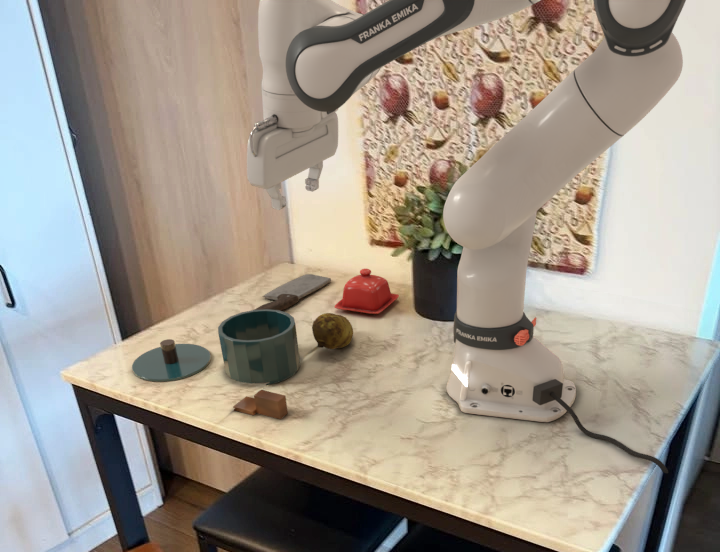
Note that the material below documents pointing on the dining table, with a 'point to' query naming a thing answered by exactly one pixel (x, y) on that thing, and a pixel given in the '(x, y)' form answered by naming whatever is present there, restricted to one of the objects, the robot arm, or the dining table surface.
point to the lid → (171, 362)
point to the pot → (259, 346)
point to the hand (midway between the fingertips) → (296, 198)
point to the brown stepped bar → (264, 404)
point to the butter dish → (366, 294)
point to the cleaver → (293, 291)
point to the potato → (332, 331)
